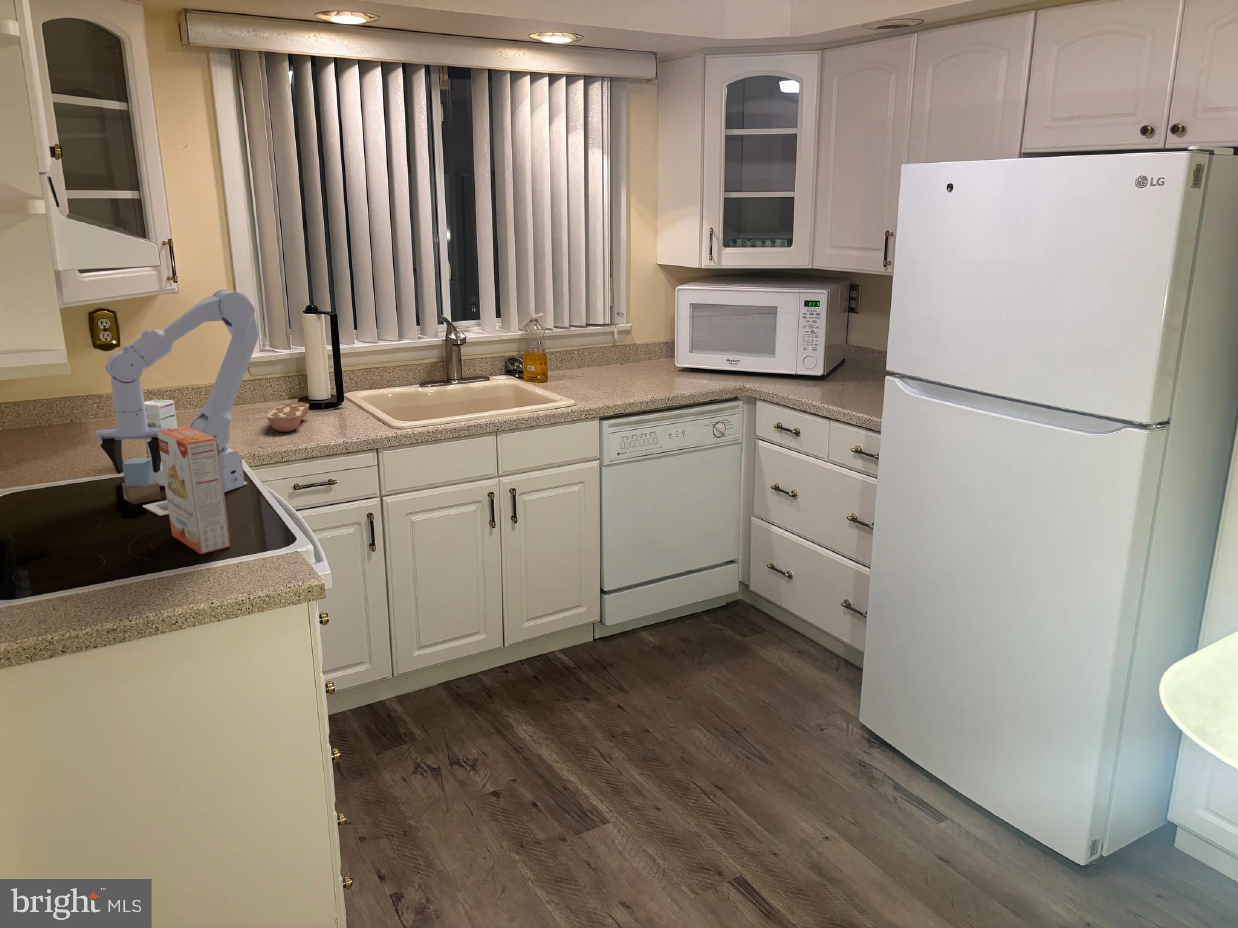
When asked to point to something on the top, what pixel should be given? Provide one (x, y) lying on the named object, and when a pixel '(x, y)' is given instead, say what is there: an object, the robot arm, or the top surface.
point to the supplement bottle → (160, 477)
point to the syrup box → (160, 416)
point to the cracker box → (194, 489)
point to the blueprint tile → (158, 508)
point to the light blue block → (138, 472)
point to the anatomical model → (287, 415)
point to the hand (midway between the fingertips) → (138, 472)
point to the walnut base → (141, 493)
